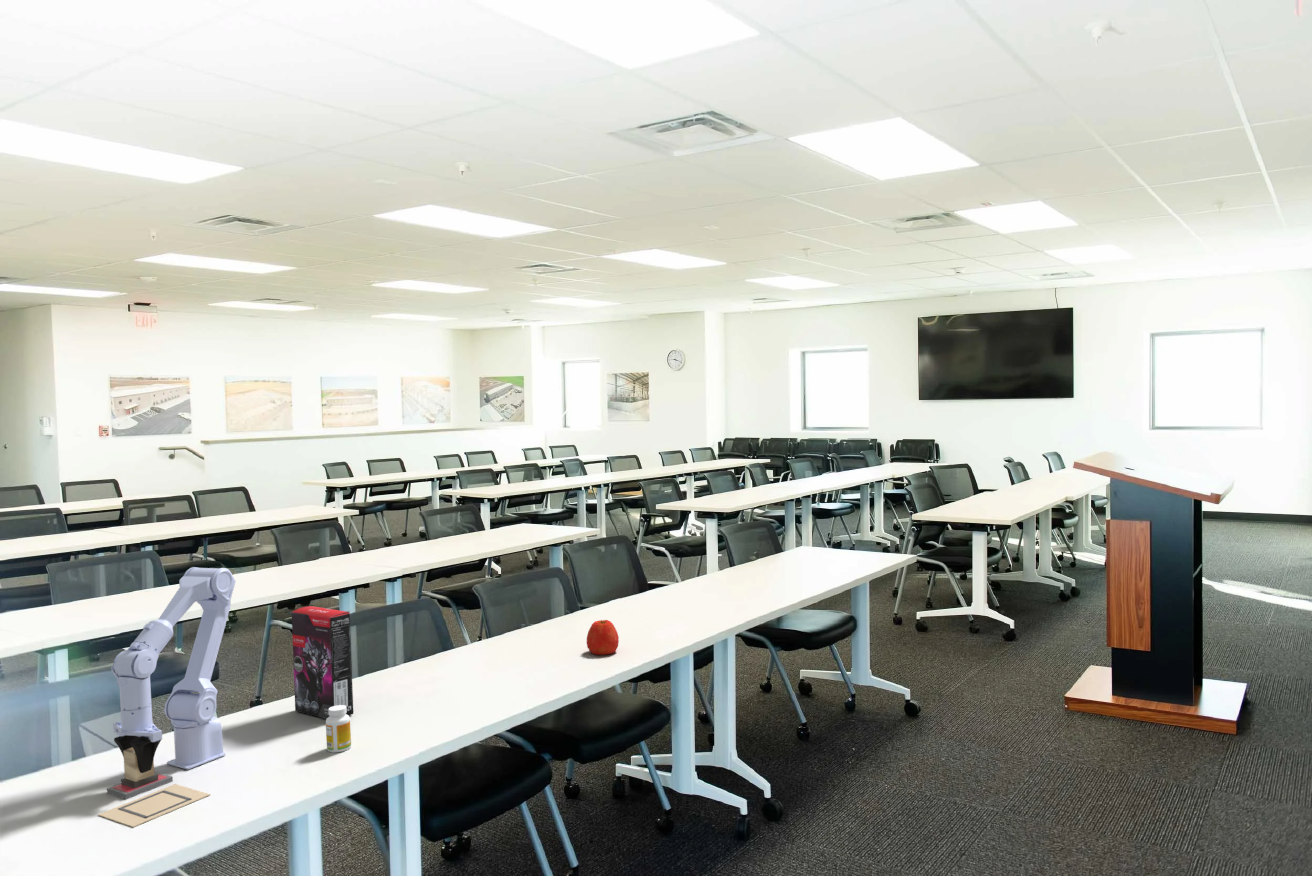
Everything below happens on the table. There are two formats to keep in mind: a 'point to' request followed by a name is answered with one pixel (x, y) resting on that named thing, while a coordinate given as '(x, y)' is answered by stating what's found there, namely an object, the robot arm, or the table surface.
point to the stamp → (136, 771)
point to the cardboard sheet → (153, 805)
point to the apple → (602, 638)
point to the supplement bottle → (338, 729)
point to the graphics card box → (322, 660)
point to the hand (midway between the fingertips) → (139, 769)
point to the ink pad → (130, 792)
